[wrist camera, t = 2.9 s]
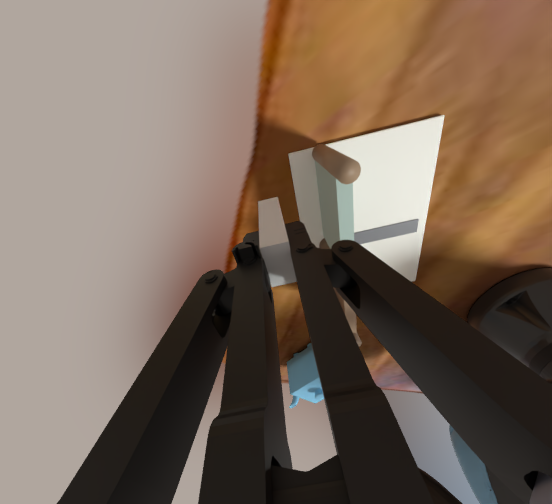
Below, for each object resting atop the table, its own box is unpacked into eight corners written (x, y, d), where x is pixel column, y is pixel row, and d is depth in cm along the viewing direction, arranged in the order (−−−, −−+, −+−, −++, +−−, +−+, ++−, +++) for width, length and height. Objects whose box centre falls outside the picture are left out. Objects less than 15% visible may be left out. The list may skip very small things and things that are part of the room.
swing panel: (334, 233, 26) (361, 275, 19) (321, 236, 26) (343, 279, 20) (327, 141, 21) (360, 156, 14) (311, 145, 21) (336, 162, 14)
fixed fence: (341, 295, 33) (365, 347, 25) (326, 298, 33) (345, 351, 25) (337, 234, 27) (366, 280, 20) (318, 238, 27) (340, 285, 20)
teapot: (296, 374, 45) (303, 418, 38) (274, 365, 42) (277, 410, 36) (341, 345, 40) (357, 389, 34) (319, 333, 38) (332, 377, 32)
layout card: (413, 279, 32) (415, 281, 32) (313, 299, 33) (314, 302, 33) (441, 115, 21) (445, 115, 20) (288, 153, 22) (288, 154, 21)
